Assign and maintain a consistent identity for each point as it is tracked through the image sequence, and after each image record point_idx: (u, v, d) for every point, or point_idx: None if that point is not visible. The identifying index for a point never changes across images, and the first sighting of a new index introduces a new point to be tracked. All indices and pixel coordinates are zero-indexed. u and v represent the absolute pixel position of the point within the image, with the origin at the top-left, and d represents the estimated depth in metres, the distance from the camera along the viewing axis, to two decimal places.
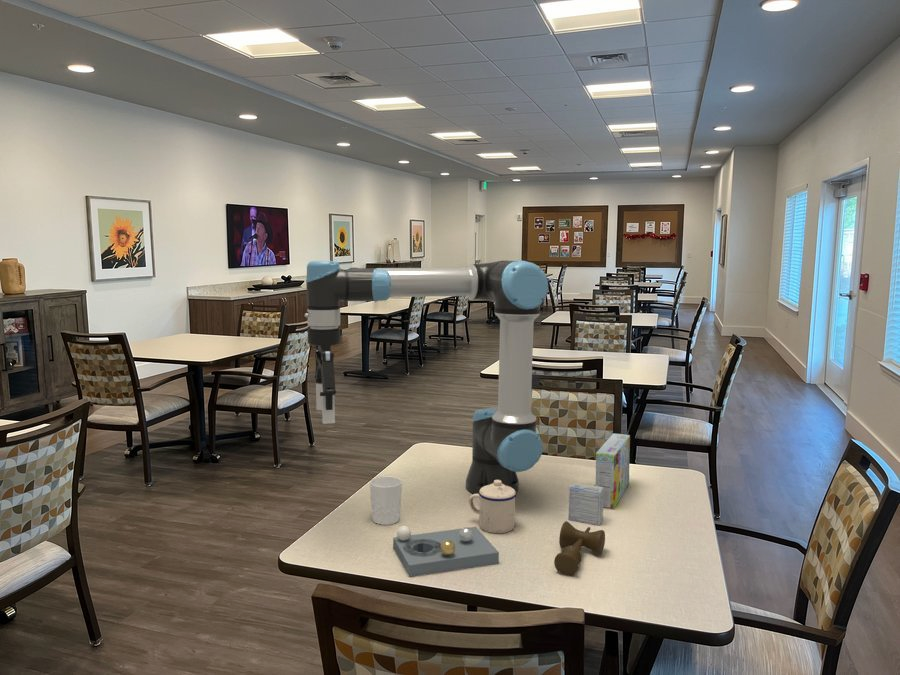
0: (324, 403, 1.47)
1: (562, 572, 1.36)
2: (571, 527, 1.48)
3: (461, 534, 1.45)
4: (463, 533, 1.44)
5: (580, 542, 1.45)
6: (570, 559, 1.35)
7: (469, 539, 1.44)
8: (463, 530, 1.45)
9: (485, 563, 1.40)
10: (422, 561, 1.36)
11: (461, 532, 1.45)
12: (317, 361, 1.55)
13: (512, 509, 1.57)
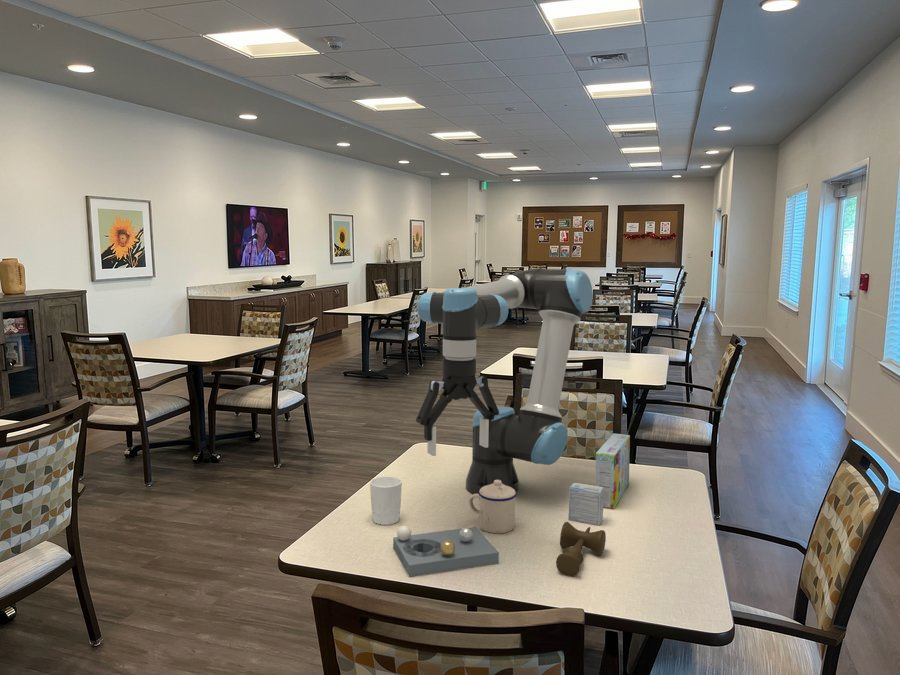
0: None
1: (564, 573, 1.36)
2: (572, 527, 1.48)
3: (461, 534, 1.45)
4: (463, 533, 1.44)
5: (581, 542, 1.44)
6: (572, 559, 1.35)
7: (469, 539, 1.44)
8: (463, 530, 1.45)
9: (485, 563, 1.40)
10: (422, 561, 1.36)
11: (461, 532, 1.45)
12: None
13: (512, 509, 1.57)
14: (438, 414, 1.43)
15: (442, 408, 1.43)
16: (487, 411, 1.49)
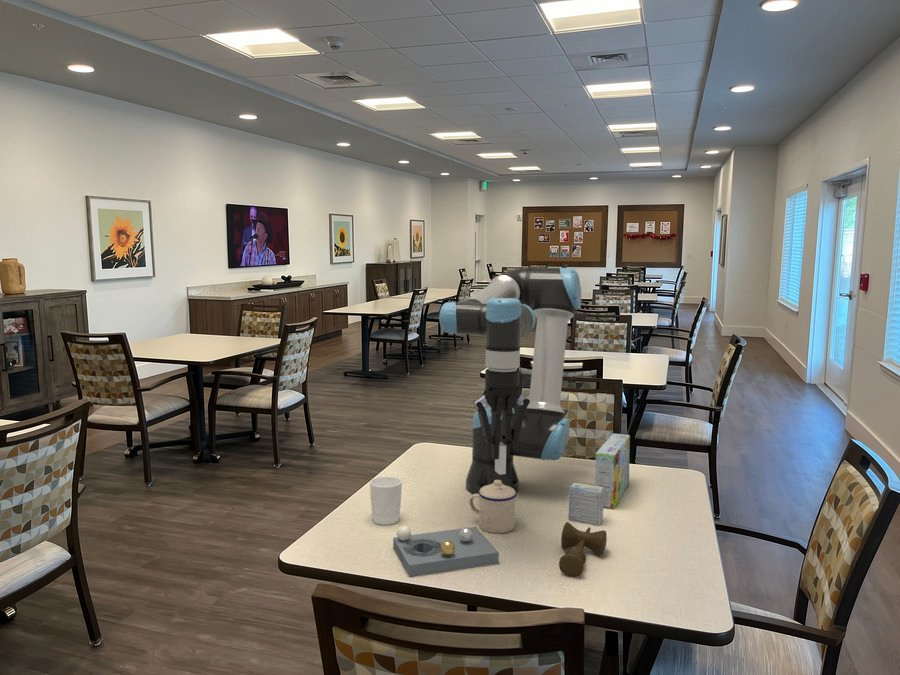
0: None
1: (567, 574, 1.36)
2: (573, 528, 1.48)
3: (461, 534, 1.45)
4: (463, 533, 1.44)
5: (583, 543, 1.44)
6: (575, 560, 1.34)
7: (469, 539, 1.44)
8: (463, 530, 1.45)
9: (485, 563, 1.40)
10: (422, 561, 1.36)
11: (461, 532, 1.45)
12: None
13: (512, 509, 1.57)
14: (498, 431, 1.44)
15: (498, 423, 1.43)
16: (509, 435, 1.45)
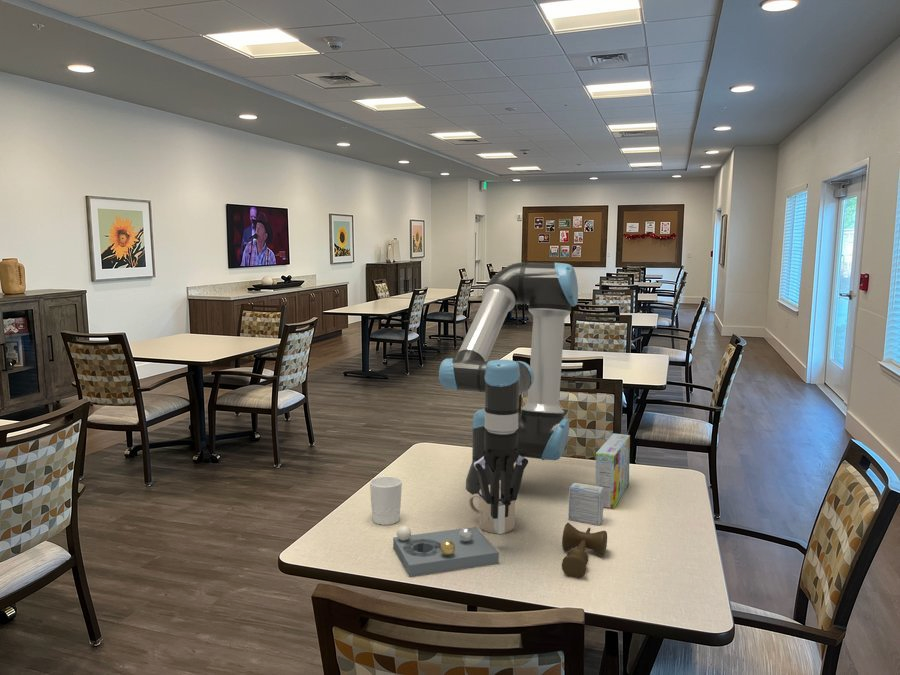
0: None
1: (570, 575, 1.35)
2: (573, 528, 1.48)
3: (461, 534, 1.45)
4: (463, 533, 1.44)
5: (584, 543, 1.44)
6: (578, 561, 1.34)
7: (469, 539, 1.44)
8: (463, 530, 1.45)
9: (485, 563, 1.40)
10: (422, 561, 1.36)
11: (461, 532, 1.45)
12: None
13: (512, 509, 1.57)
14: (497, 491, 1.45)
15: (497, 484, 1.45)
16: (508, 495, 1.46)
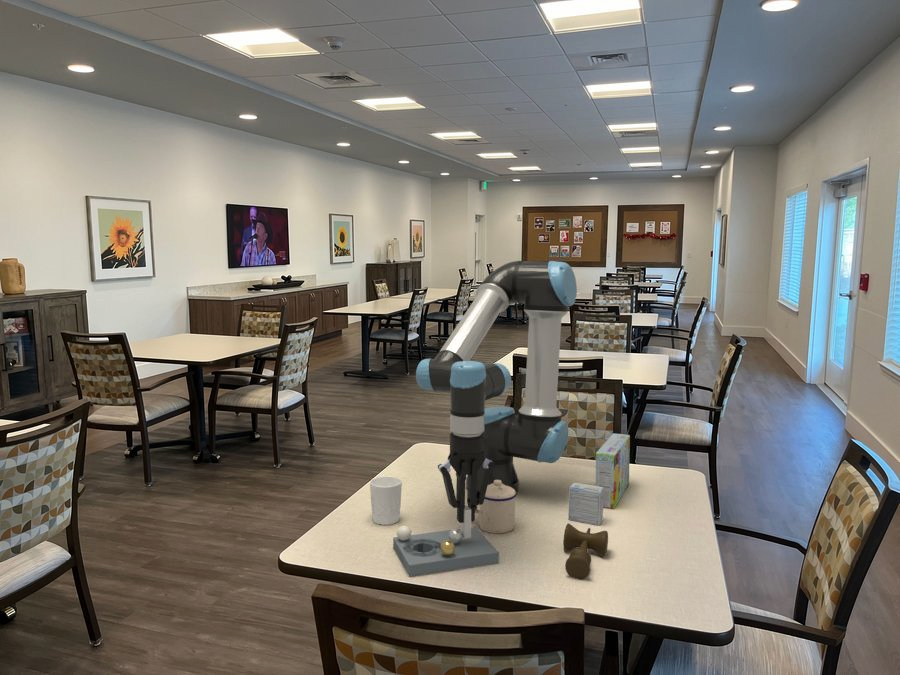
0: None
1: (573, 576, 1.35)
2: (574, 529, 1.47)
3: None
4: (453, 542, 1.44)
5: (585, 544, 1.44)
6: (582, 562, 1.34)
7: (459, 537, 1.44)
8: None
9: (485, 563, 1.40)
10: (422, 561, 1.36)
11: None
12: None
13: (512, 509, 1.57)
14: (463, 495, 1.43)
15: (463, 488, 1.43)
16: (474, 499, 1.44)
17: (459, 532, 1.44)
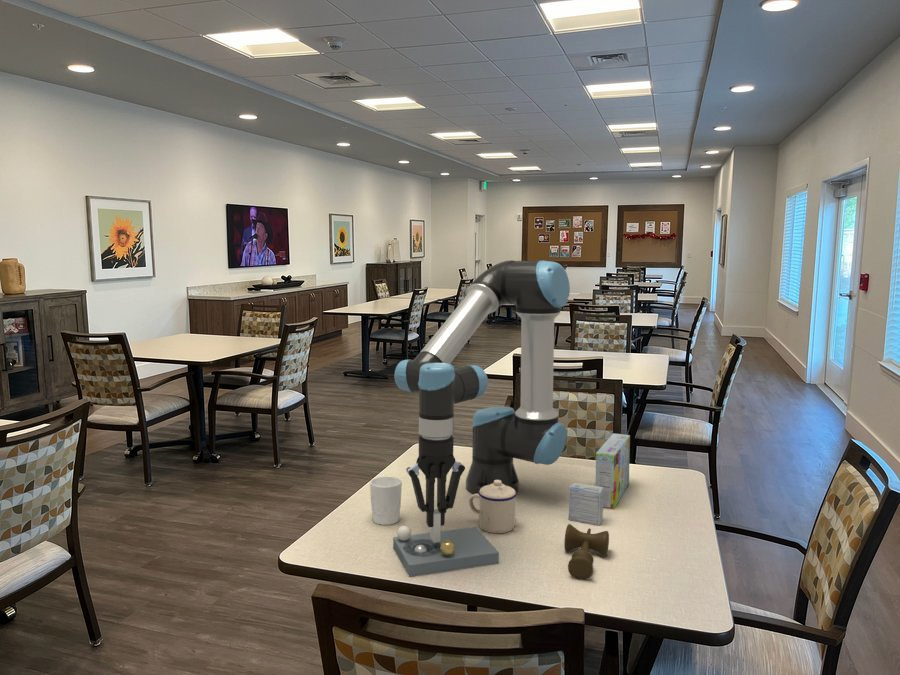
0: None
1: (576, 577, 1.35)
2: (575, 530, 1.47)
3: None
4: None
5: (587, 544, 1.44)
6: (585, 563, 1.34)
7: None
8: None
9: (485, 563, 1.40)
10: (422, 561, 1.36)
11: None
12: None
13: (512, 509, 1.57)
14: (432, 498, 1.41)
15: (432, 491, 1.40)
16: (443, 503, 1.42)
17: (426, 549, 1.42)
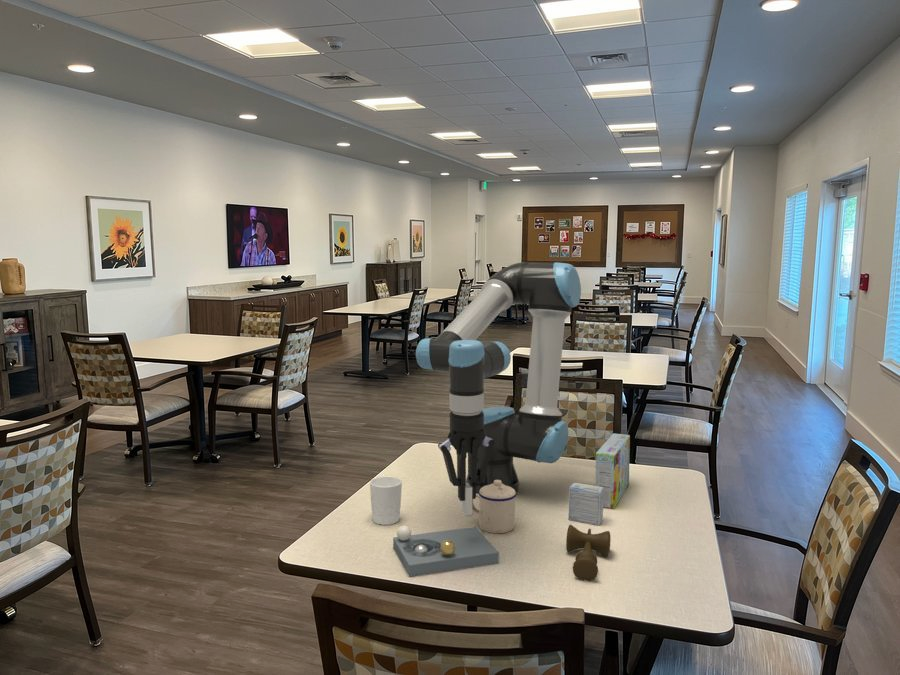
0: None
1: (581, 578, 1.34)
2: (577, 530, 1.47)
3: None
4: None
5: (589, 545, 1.43)
6: (590, 564, 1.33)
7: None
8: None
9: (485, 563, 1.40)
10: (422, 561, 1.36)
11: None
12: None
13: (512, 509, 1.57)
14: (463, 473, 1.44)
15: (463, 466, 1.43)
16: (475, 477, 1.45)
17: (427, 550, 1.42)
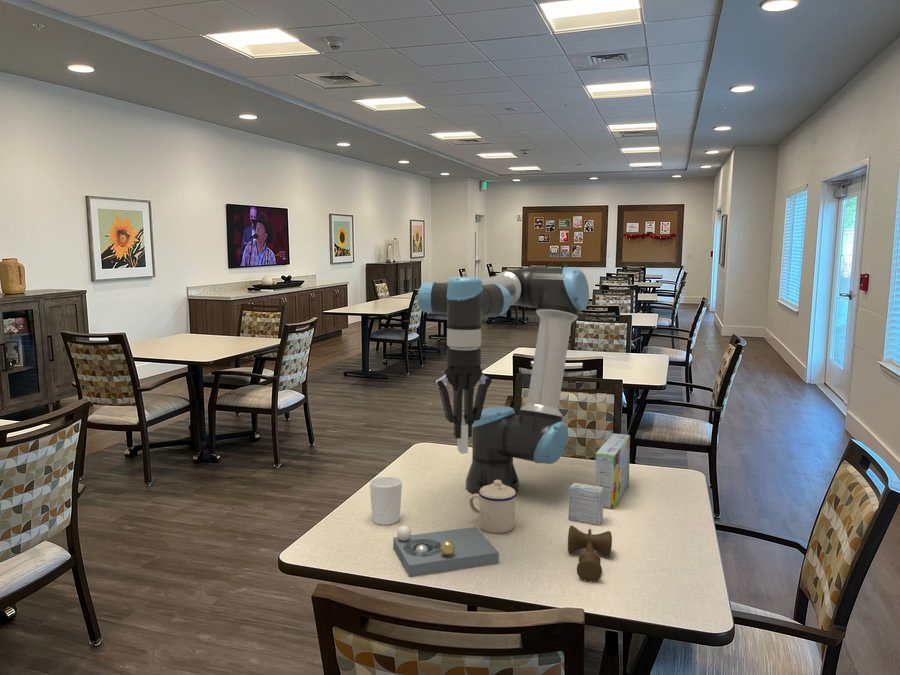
0: None
1: (585, 579, 1.34)
2: (578, 531, 1.46)
3: None
4: None
5: (591, 545, 1.43)
6: (594, 565, 1.33)
7: None
8: None
9: (485, 563, 1.40)
10: (422, 561, 1.36)
11: None
12: None
13: (512, 509, 1.57)
14: (459, 410, 1.43)
15: (460, 402, 1.43)
16: (471, 414, 1.44)
17: (428, 550, 1.42)
